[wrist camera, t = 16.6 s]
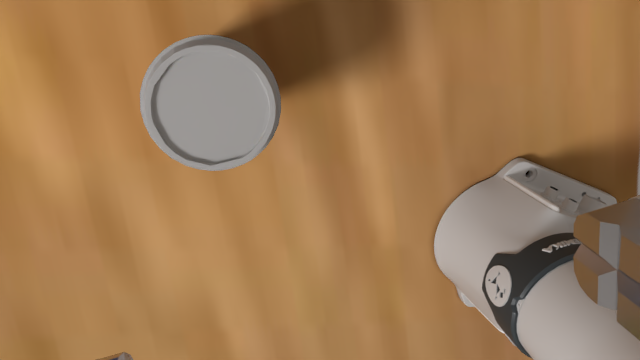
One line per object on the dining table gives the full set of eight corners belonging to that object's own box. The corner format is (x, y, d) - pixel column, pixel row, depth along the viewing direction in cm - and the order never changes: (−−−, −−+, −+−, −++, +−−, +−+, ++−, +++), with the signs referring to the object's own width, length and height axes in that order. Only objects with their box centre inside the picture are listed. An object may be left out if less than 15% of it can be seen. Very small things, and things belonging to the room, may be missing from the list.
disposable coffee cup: (150, 114, 43) (124, 158, 32) (173, 8, 40) (153, 15, 29) (252, 141, 45) (261, 190, 34) (281, 43, 42) (300, 62, 31)
